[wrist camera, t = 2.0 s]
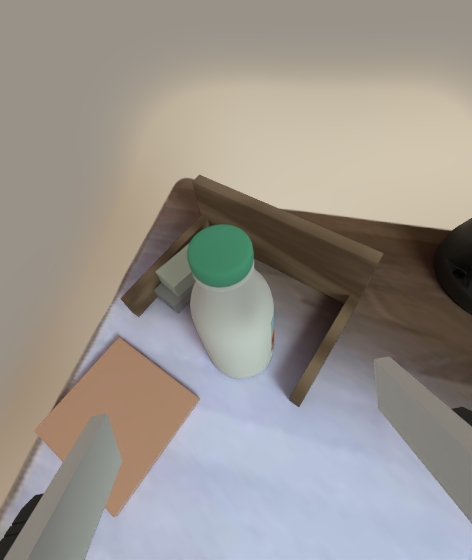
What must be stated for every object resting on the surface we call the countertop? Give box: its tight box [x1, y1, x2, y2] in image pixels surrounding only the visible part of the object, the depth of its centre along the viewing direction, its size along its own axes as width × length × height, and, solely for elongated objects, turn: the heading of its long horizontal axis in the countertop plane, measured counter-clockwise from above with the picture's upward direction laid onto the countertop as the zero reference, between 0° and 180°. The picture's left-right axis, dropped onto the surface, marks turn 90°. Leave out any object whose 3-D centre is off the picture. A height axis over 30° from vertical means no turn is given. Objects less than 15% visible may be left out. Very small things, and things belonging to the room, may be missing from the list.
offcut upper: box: [156, 244, 196, 297], centre depth 42 cm, size 9×4×2 cm, turn 137°
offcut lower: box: [154, 283, 195, 314], centre depth 44 cm, size 11×4×2 cm, turn 140°
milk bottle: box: [187, 224, 274, 379], centre depth 30 cm, size 8×8×20 cm
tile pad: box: [34, 337, 200, 517], centre depth 35 cm, size 13×13×1 cm
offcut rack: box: [121, 175, 384, 407], centre depth 37 cm, size 18×24×10 cm
